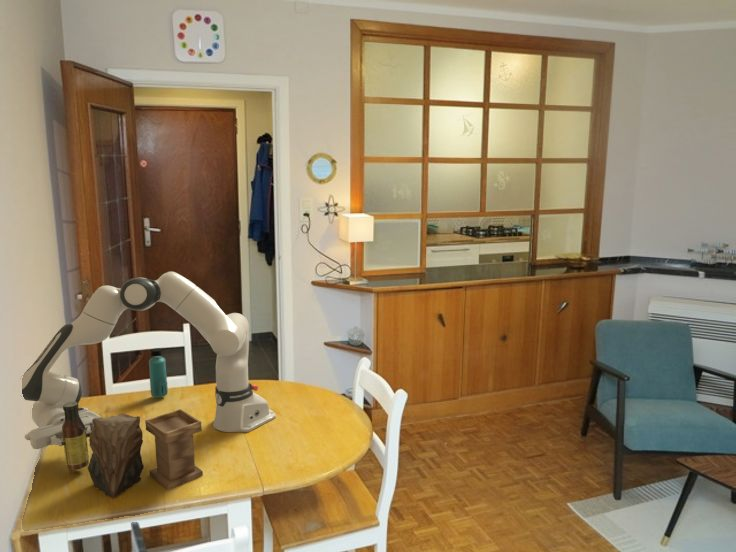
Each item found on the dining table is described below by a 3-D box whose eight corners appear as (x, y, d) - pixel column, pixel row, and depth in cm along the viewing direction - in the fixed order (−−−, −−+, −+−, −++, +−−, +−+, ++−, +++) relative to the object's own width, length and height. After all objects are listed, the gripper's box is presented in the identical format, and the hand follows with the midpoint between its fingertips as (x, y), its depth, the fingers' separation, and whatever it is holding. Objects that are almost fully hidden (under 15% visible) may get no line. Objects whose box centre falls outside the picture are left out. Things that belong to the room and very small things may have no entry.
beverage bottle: (162, 401, 230) (159, 352, 227) (147, 400, 232) (144, 351, 228) (171, 395, 237) (168, 347, 233) (156, 393, 238) (153, 346, 234)
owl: (87, 484, 172) (81, 420, 168) (126, 466, 182) (122, 405, 178) (112, 499, 165) (106, 432, 161) (151, 480, 175) (147, 416, 171)
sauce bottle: (93, 464, 180) (88, 403, 176) (74, 473, 175) (67, 410, 171) (80, 458, 183) (75, 398, 179) (61, 467, 178) (55, 405, 174)
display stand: (183, 461, 186) (180, 409, 182) (203, 476, 178) (201, 421, 174) (148, 474, 178) (145, 420, 175) (168, 490, 170) (165, 433, 166)
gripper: (21, 425, 178) (36, 440, 169) (91, 405, 193) (109, 418, 183) (23, 444, 179) (39, 461, 170) (92, 423, 194) (110, 437, 184)
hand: (76, 439), depth 177 cm, fingers closed on sauce bottle, 6 cm apart
